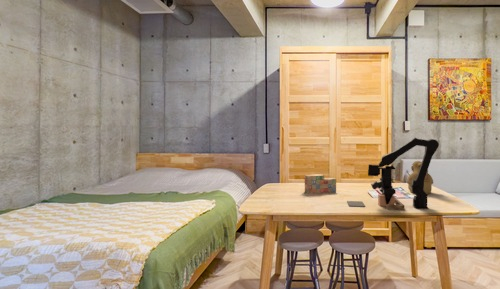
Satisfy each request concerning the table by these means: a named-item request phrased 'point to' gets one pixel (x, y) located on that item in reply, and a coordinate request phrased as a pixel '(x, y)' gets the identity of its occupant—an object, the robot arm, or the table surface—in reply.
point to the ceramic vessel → (415, 168)
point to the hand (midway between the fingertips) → (386, 203)
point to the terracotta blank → (383, 202)
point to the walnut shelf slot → (396, 206)
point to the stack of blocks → (319, 184)
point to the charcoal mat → (355, 204)
